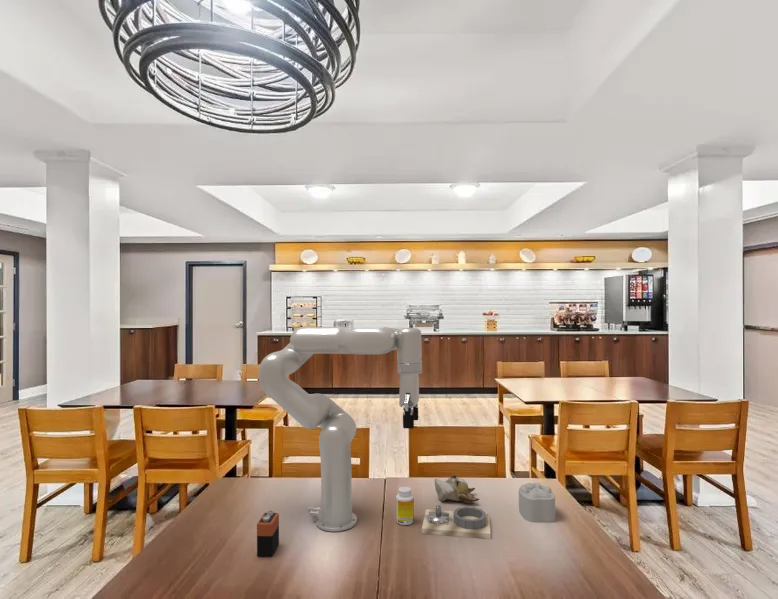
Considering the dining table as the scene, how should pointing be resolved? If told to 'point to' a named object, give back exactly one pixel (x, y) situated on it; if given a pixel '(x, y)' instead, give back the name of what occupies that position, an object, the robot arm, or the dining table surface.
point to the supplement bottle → (404, 506)
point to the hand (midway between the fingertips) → (411, 423)
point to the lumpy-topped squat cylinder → (536, 503)
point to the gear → (438, 517)
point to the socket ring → (469, 522)
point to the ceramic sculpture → (454, 490)
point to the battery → (268, 534)
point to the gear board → (456, 527)
